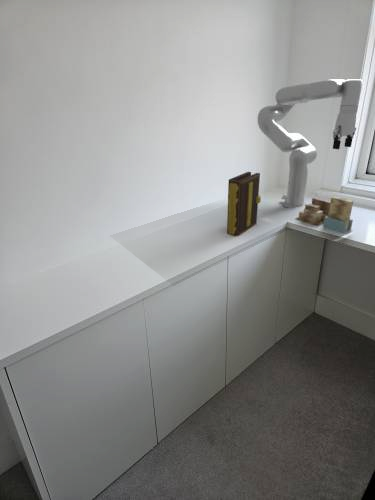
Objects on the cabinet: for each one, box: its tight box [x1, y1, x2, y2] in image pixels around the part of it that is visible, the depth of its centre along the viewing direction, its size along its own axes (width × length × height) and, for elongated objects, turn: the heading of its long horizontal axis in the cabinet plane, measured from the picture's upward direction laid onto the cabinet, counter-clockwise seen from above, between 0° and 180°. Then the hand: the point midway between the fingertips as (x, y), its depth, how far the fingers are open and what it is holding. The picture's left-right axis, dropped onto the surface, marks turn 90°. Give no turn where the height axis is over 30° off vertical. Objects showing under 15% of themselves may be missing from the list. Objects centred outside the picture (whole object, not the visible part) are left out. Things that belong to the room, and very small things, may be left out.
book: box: [226, 171, 262, 237], centre depth 151 cm, size 22×8×25 cm, turn 143°
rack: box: [294, 197, 331, 227], centre depth 160 cm, size 13×14×9 cm
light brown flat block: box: [328, 196, 354, 232], centre depth 147 cm, size 9×2×14 cm, turn 35°
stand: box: [322, 216, 354, 234], centre depth 149 cm, size 10×9×6 cm
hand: (341, 147), depth 157 cm, fingers open, 9 cm apart
